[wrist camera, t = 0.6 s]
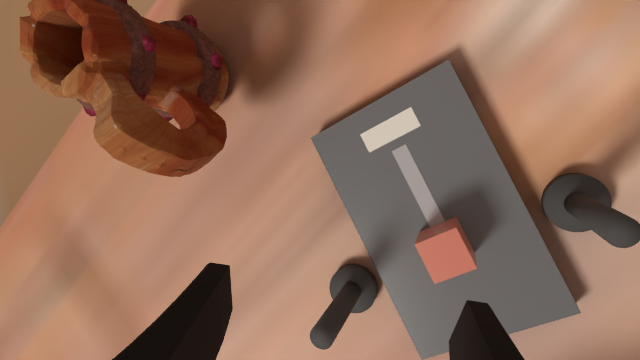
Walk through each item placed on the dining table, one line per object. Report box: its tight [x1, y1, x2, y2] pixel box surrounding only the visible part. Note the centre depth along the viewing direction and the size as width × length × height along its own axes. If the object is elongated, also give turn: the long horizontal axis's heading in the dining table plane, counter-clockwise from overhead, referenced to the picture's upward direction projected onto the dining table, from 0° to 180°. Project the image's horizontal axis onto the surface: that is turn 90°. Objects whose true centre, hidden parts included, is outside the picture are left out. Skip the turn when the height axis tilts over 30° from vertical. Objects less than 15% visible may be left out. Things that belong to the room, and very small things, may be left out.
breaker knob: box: [415, 217, 477, 284], centre depth 28 cm, size 3×3×4 cm
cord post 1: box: [310, 264, 378, 349], centre depth 30 cm, size 4×4×9 cm
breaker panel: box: [311, 60, 581, 359], centre depth 30 cm, size 20×12×2 cm, turn 28°
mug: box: [20, 0, 229, 177], centre depth 29 cm, size 15×8×15 cm, turn 39°
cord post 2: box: [541, 173, 640, 248], centre depth 24 cm, size 4×4×9 cm
